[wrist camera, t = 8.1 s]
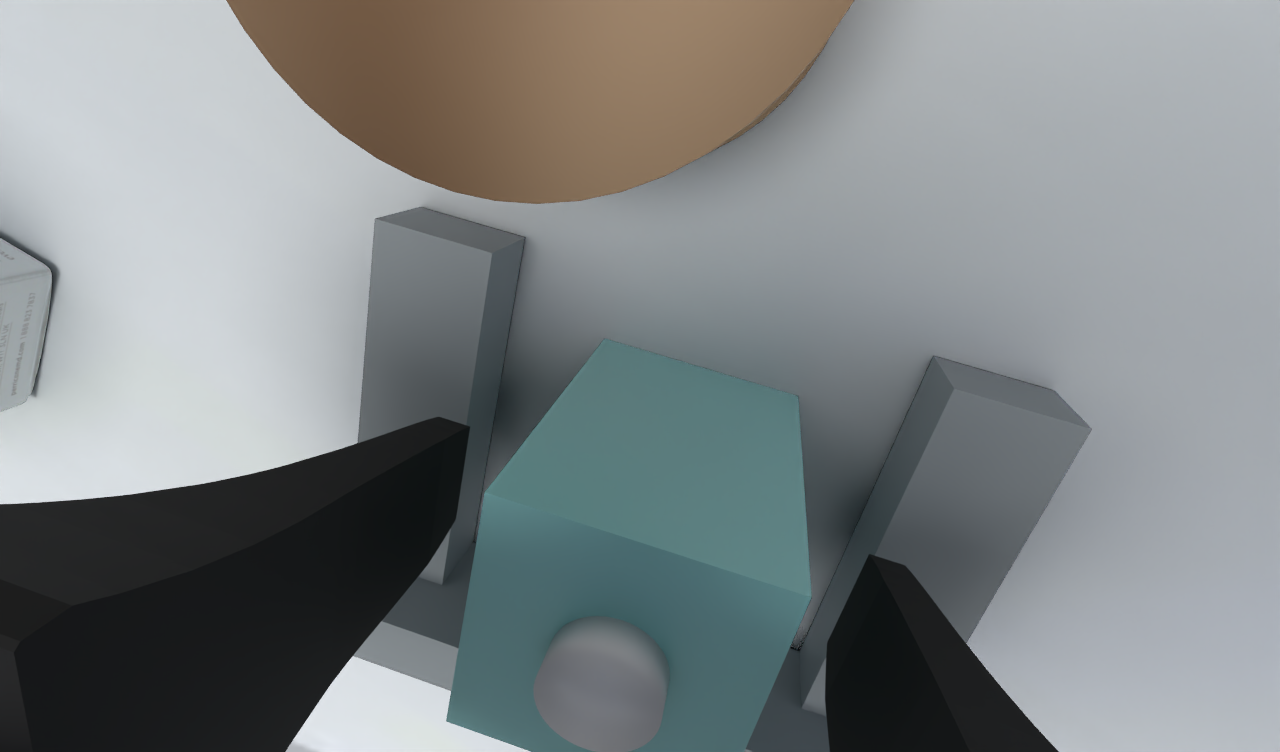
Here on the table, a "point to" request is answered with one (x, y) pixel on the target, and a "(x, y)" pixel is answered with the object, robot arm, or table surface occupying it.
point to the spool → (541, 82)
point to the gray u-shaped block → (888, 528)
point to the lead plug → (638, 565)
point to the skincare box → (21, 322)
